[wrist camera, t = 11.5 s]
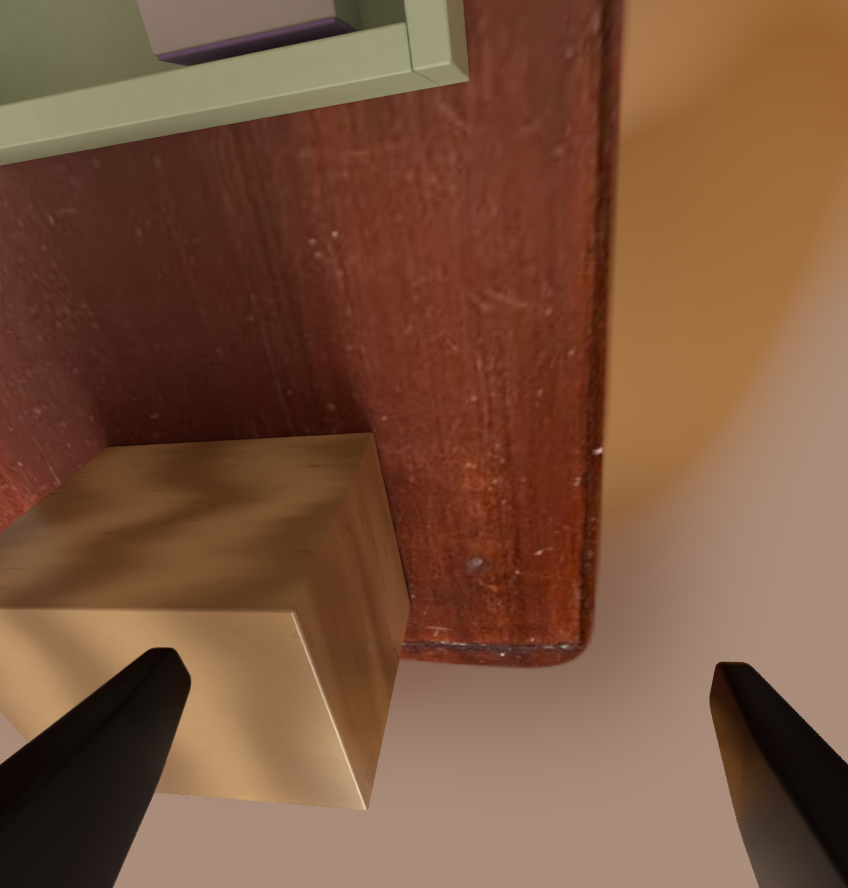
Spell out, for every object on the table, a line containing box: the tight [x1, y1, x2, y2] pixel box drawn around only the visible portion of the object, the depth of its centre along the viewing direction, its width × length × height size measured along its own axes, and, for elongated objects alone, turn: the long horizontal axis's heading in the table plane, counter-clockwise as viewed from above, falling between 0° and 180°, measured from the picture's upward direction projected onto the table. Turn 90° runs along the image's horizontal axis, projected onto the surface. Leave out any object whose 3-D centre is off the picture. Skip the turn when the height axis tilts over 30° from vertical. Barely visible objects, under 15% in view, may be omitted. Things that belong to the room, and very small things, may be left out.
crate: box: [0, 432, 410, 810], centre depth 20 cm, size 12×10×9 cm
